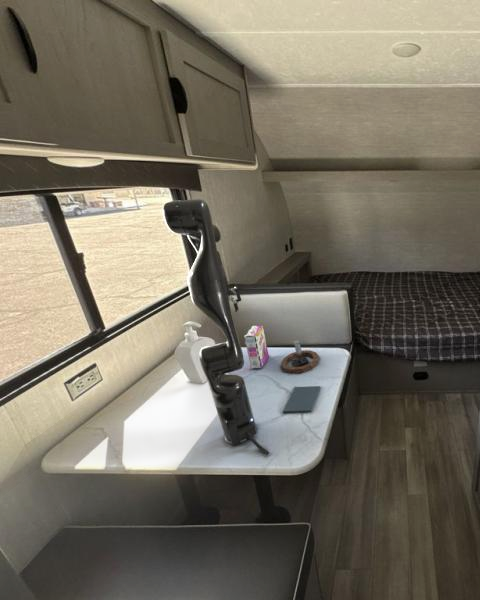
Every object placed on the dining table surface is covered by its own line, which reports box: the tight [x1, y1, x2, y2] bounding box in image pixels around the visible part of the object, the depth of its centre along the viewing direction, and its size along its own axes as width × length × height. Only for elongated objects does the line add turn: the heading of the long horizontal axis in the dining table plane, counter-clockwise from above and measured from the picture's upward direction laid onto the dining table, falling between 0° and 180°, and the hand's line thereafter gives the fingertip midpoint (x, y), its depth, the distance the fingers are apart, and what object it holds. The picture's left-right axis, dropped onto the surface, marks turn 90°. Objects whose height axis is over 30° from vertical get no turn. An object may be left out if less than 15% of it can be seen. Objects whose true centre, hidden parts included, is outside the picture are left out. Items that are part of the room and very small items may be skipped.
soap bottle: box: [173, 320, 216, 384], centre depth 129 cm, size 12×10×26 cm
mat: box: [282, 385, 321, 414], centre depth 117 cm, size 14×10×1 cm
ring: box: [280, 349, 320, 374], centre depth 141 cm, size 16×16×2 cm
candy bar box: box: [243, 324, 269, 370], centre depth 140 cm, size 11×5×16 cm, turn 6°
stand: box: [291, 339, 310, 367], centre depth 139 cm, size 6×6×11 cm
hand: (224, 314), depth 129 cm, fingers open, 8 cm apart
